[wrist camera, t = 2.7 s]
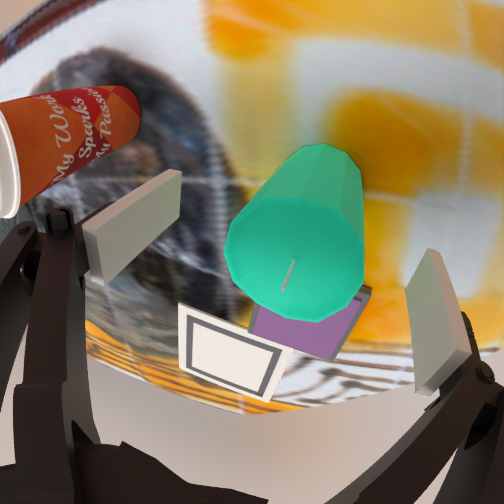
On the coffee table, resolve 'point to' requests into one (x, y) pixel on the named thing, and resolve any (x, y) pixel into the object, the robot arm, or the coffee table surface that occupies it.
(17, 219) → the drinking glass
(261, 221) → the candle
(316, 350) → the ink pad
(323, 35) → the coffee table surface
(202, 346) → the marked card
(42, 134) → the paper cup
